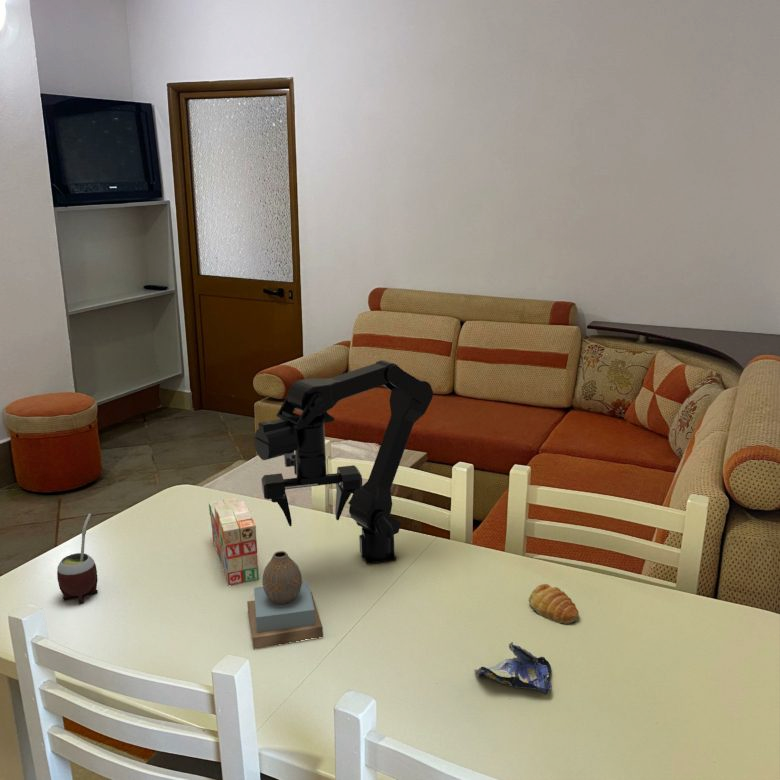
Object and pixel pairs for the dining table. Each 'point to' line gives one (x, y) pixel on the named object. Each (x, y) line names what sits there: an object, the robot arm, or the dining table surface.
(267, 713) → the dining table surface
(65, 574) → the mate gourd
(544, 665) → the snack package
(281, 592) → the vase
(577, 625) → the dining table surface
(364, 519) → the robot arm
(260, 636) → the tower base
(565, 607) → the pastry
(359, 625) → the dining table surface
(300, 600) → the tower top
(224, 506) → the stack of blocks
